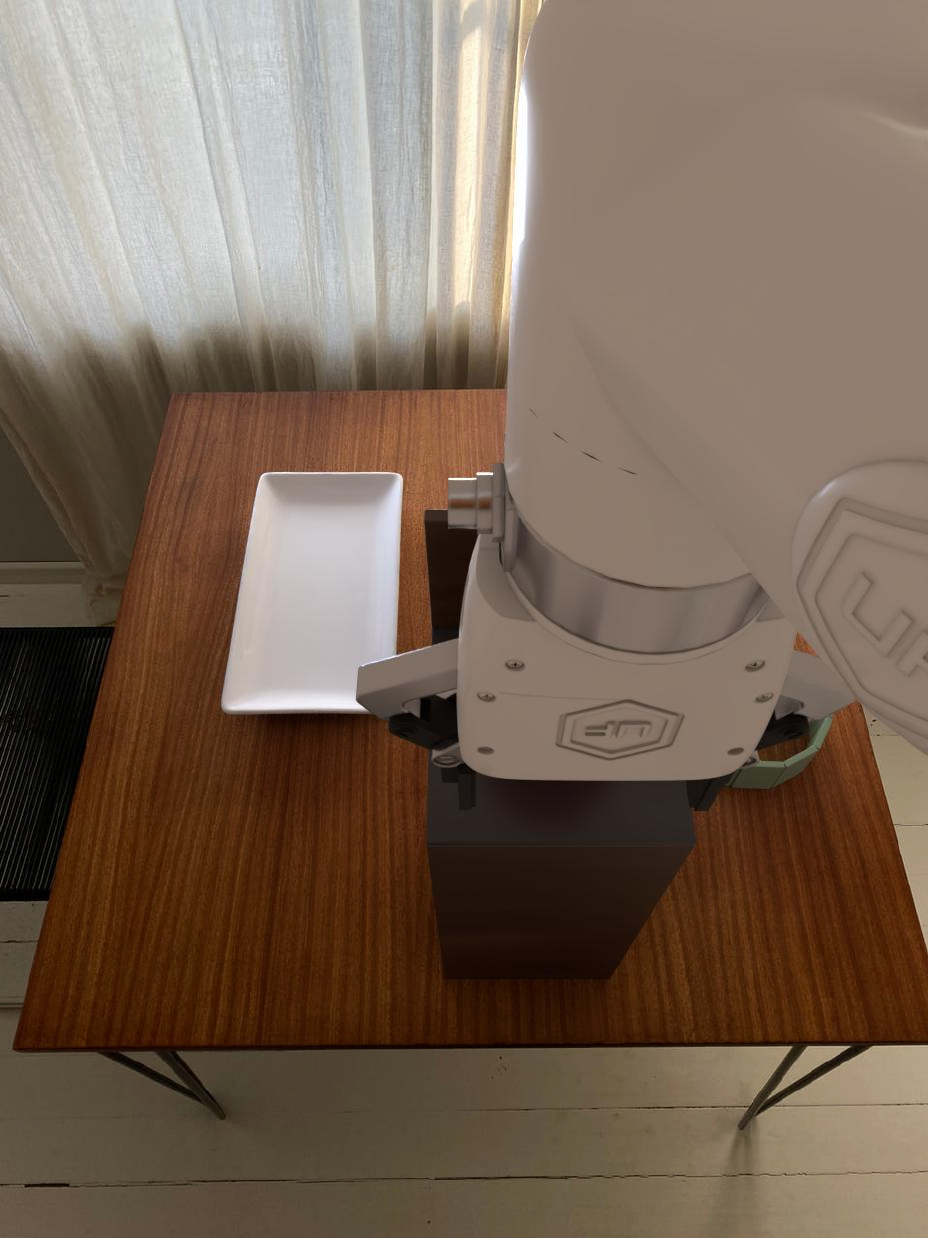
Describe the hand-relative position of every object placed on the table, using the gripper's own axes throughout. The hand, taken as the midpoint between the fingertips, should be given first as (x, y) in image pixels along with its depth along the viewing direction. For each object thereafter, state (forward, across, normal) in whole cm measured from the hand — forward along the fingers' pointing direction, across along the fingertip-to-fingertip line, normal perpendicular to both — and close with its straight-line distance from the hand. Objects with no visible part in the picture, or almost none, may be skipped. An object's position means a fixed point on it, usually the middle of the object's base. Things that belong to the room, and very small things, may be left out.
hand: (580, 777), depth 37 cm
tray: (+43, -21, +40) cm, 62 cm away
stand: (+43, 0, +8) cm, 44 cm away
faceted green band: (+43, +22, +25) cm, 54 cm away
